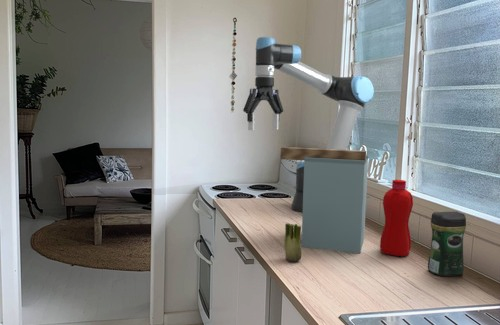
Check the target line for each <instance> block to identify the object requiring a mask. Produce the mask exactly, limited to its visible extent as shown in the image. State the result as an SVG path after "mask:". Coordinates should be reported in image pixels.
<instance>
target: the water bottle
mask: <svg viewBox="0 0 500 325" xmlns="http://www.w3.org/2000/svg"><path fill="white" fill-rule="evenodd" d="M406 185H407V181H406V180H404V179H392V184H391V189H389V190H387V191H386V192H385V194H384V195H383V200H382V207H383V208H382V209H383V212H384V225H383V229H382V233H381V235H380V236H381V237H380V241H379V242H380V243H379V249H380V252H382V253H383V254H384V255H389V256H395V257H399V256H401V257H406V256H408V254H409V253H410V252H411V247H412V245H411V244H412V243H411V242H412V238H411V234H410V226H409V220H410V216H411V213H412V210H413V206H414V197H413V195H412V192H410V191H409V190H407V188H406V187H407V186H406Z"/></svg>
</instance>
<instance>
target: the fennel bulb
mask: <svg viewBox="0 0 500 325" xmlns="http://www.w3.org/2000/svg"><path fill="white" fill-rule="evenodd" d="M284 229H285V231H284V232H285V234H284V255H285V258H286V260H287V261H288V262H290V263H297V262H299V261H301V259H302V255H303V254H302V247H301V244H302V242H301V234H302V225H298V224H297V223H290V222H286V223H285V228H284Z"/></svg>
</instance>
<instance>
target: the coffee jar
mask: <svg viewBox="0 0 500 325" xmlns="http://www.w3.org/2000/svg"><path fill="white" fill-rule="evenodd" d="M430 217H431V218H430V228H431V242H430V250H429V256H428V261H427V269H428V270H429V272H430V273H432V274H433V275H439V276H440V277H452V276H453V277H454V276H461V275H462V274H463V273H464V266H465V265H464V235H465V231H466V229H467V218H466V215H465V214H464V213H462V212H459V211H436V212H435V211H433V213H432V214H431V216H430Z"/></svg>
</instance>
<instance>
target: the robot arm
mask: <svg viewBox="0 0 500 325" xmlns="http://www.w3.org/2000/svg"><path fill="white" fill-rule="evenodd" d="M301 59H302V49H301V48H300V46H298V45H294V44H283V43H276V38H274V37H271V36H259V37H258V38H257V39H256V42H255V76H256V77H255V81H254V84H255V87H256V88H255V87H254V88H253V87H252V88H250V89H249V94H248V96H247V99H246V102H245V104H244V106H243V109H242V111H243V112H244V113H245V114H247V115H246V116H247V117H246V119H247V123H248V124H247V130H248V131H255V113H254V112H255V110H256V109H257V107H258V106H259V105H260V102H261V101H266V102H268V104H269V106H270V108H271V109H272V111H273V113H272V130H276V131H277V130H279V122H280V115H281V114H282V113H284V108H283V105H282V101H281V99H280V95H279V93H280V92H279V89H273V88H274V86H275V78H274V76H275V70H277V71H279V72H282V73H284V74H285V75H287V76H290V77H292V78H294V79H295V80H297V81H299V82H301V83H303V84H306V85H308V86H310V87H312V88H314V89H316V90H317V92H318V93H319V94H321V95H323V96H325V97H327V98H329V99H331V100H332V101H336V102H337V104H339V109H338V112H337V115H336V119H335V121H334V124H333V127H332V131H331V134H330V138H329V140H328V143H327V145H326V149H338V150H348V146H349V143H350V139H351V138H352V134H353V131H354V128H355V125H356V121H357V120H358V119H357V118H358V116H359V113H360V112H361V111H363V110H364V107H365V104H367V103H368V102H370V101H372V99H373V98H374V93H375V89H374V88H375V87H374V86H373V83H372V81H371V80H370V79H369V78H368V77H366V76H362V75H361V76H360V75H355V76H346V77H345V76H344V77H343V76H341V77H340V76H334V75H331V74H330V73H326V74H325V73H323V72H321V71H319V70H317V69H315V68H314V67H311V66H309V65H308V64H306V63H303V62H301ZM295 170H296V173H295V174H296V175H295V176H296V178H295V194H294V197H293V199H292V202H291V210H292V211H296V212H299V213H301V212H302V213H303V187H304V161H298V162H297V163H296V169H295Z"/></svg>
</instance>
